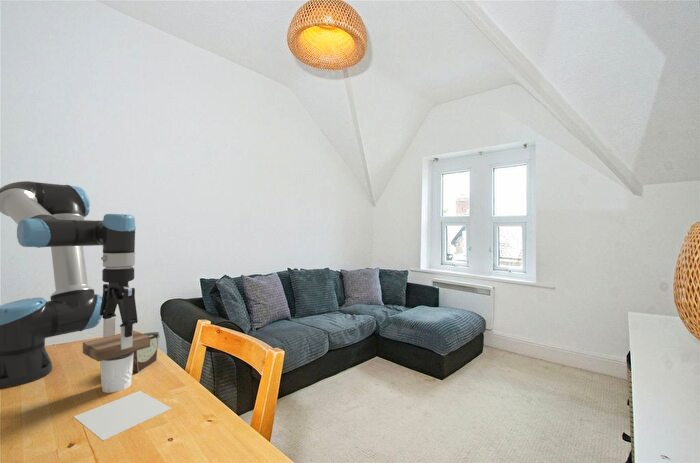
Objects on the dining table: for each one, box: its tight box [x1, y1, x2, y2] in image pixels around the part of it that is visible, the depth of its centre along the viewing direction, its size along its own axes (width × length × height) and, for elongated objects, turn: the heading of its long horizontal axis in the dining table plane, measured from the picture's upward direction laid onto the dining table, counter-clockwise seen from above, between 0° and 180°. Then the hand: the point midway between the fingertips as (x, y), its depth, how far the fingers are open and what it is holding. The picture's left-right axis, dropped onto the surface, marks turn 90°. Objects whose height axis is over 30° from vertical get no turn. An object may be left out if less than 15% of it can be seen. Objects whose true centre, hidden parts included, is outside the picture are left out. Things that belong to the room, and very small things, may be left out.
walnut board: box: [82, 330, 150, 362], centre depth 92 cm, size 10×13×3 cm
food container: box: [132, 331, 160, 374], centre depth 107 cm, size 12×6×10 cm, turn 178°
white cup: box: [99, 352, 134, 394], centre depth 92 cm, size 8×8×10 cm
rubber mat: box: [73, 390, 173, 441], centre depth 80 cm, size 16×15×1 cm
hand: (117, 344), depth 92 cm, fingers closed on walnut board, 10 cm apart
